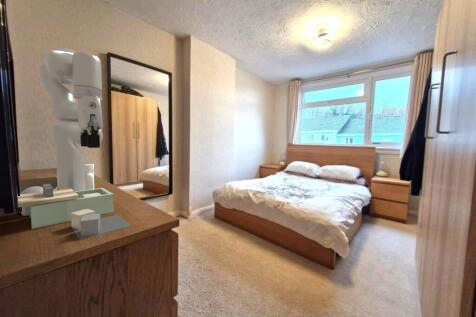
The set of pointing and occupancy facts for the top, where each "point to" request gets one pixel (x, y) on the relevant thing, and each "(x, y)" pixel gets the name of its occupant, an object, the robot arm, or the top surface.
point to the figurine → (89, 176)
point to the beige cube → (79, 217)
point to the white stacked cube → (91, 195)
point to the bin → (71, 208)
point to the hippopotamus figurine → (31, 190)
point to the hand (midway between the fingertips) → (90, 147)
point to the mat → (106, 226)
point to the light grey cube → (90, 225)
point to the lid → (46, 196)
